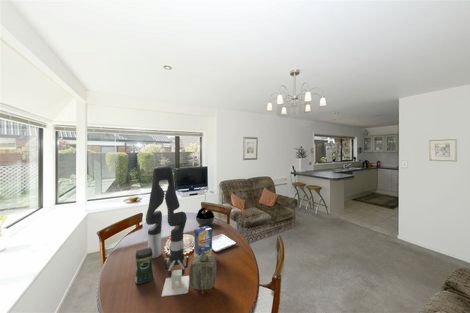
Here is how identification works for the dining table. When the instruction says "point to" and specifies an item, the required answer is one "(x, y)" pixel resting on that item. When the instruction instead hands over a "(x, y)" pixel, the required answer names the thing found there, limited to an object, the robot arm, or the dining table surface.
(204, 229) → the beverage box
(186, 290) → the mat
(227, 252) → the dining table surface
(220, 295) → the dining table surface
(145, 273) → the coffee jar
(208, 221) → the coal bowl
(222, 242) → the salad plate
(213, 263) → the tabletop clock
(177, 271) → the cube with two prongs
